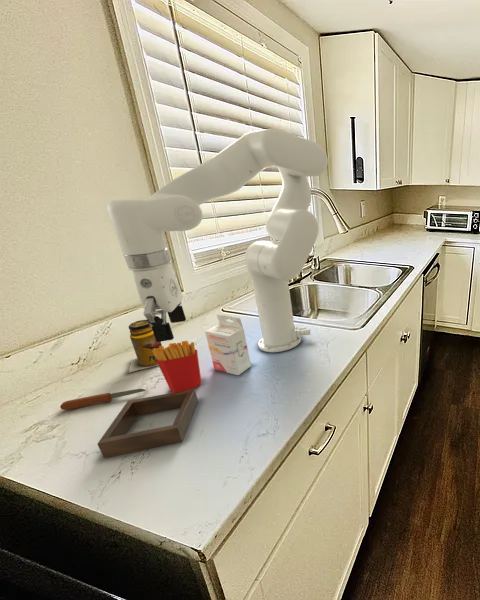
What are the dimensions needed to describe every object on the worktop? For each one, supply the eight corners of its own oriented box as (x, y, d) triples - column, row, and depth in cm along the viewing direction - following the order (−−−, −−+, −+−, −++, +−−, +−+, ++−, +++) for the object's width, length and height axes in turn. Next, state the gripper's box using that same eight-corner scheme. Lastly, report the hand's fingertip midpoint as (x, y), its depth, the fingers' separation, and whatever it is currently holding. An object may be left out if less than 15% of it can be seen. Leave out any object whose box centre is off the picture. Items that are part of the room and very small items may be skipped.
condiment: (167, 363, 91) (155, 324, 86) (128, 373, 86) (114, 332, 82) (167, 352, 96) (156, 315, 92) (131, 360, 92) (117, 322, 88)
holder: (198, 401, 75) (194, 388, 74) (182, 441, 64) (177, 427, 63) (132, 413, 72) (127, 400, 70) (103, 458, 60) (97, 443, 59)
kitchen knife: (61, 412, 72) (58, 404, 72) (64, 408, 73) (61, 401, 73) (146, 394, 78) (143, 387, 77) (147, 391, 79) (145, 384, 78)
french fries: (205, 377, 84) (194, 336, 80) (204, 385, 81) (192, 343, 76) (166, 386, 81) (152, 343, 76) (163, 395, 77) (148, 351, 73)
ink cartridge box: (213, 370, 87) (200, 320, 82) (227, 360, 92) (216, 313, 86) (238, 376, 85) (227, 325, 79) (252, 366, 89) (242, 317, 84)
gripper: (154, 268, 63) (180, 345, 69) (180, 248, 78) (199, 313, 84) (107, 273, 60) (138, 352, 67) (143, 251, 76) (166, 317, 82)
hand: (172, 330), depth 76 cm, fingers open, 9 cm apart
